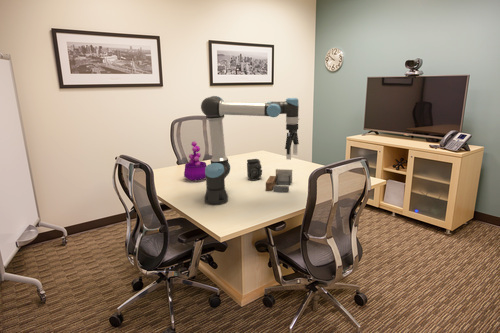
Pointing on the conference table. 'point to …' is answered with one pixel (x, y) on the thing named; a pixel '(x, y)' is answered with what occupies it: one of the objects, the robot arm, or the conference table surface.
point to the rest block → (281, 188)
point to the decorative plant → (195, 165)
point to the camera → (254, 169)
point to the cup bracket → (283, 177)
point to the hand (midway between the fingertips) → (292, 156)
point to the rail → (270, 183)
